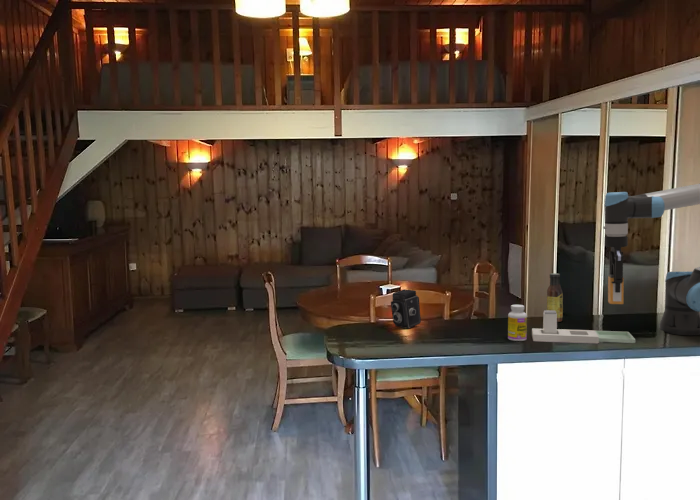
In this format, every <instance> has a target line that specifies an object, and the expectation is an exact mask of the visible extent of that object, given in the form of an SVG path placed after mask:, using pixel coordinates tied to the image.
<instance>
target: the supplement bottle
mask: <svg viewBox="0 0 700 500" xmlns="http://www.w3.org/2000/svg"><path fill="white" fill-rule="evenodd" d="M510 309H511V311H509V313H508V315H507V317H508V318H507V339H508V340H510V341H513V342H515V341H516V342H518V341H519V342H522V341H527V338H528V337H527V335H528V333H527V332H528V330H527V329H528V328H527V327H528V315H527V313H526V312H525V311H524V310H525V305H523V304H512V305H510Z"/></svg>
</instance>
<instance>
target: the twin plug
mask: <svg viewBox="0 0 700 500" xmlns="http://www.w3.org/2000/svg"><path fill="white" fill-rule="evenodd" d="M542 315H543V316H542V319H543V322H542V329H543V334H557V328H558V322H557V313H556V311H553V310H547V309H546V310H545V309H544V310H543V314H542Z"/></svg>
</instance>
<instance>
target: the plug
mask: <svg viewBox="0 0 700 500" xmlns="http://www.w3.org/2000/svg"><path fill="white" fill-rule="evenodd" d="M624 281H625V279H624V277H623V282H622V285H621V301H613V283H612V282H614V275H609V274H608V276H607V282H608V283H607V302H608V304H610V305H624V293H625V292H624V289H625V287H624V285H625V284H624Z"/></svg>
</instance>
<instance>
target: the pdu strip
mask: <svg viewBox="0 0 700 500" xmlns="http://www.w3.org/2000/svg"><path fill="white" fill-rule="evenodd" d="M595 331H596V330H593V329H592V330H589V329H565V328H564V329H562V328H561V329H560V328H558V329H557V334H543V328H534V327H533V328H531V337H532V341H533V342H542V343H543V342H545V343H546V342H547V343H568V344H569V343H571V344H572V343H575V344H599V343H600V342H599V336H598V335H597V333H596V332H595Z"/></svg>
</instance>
